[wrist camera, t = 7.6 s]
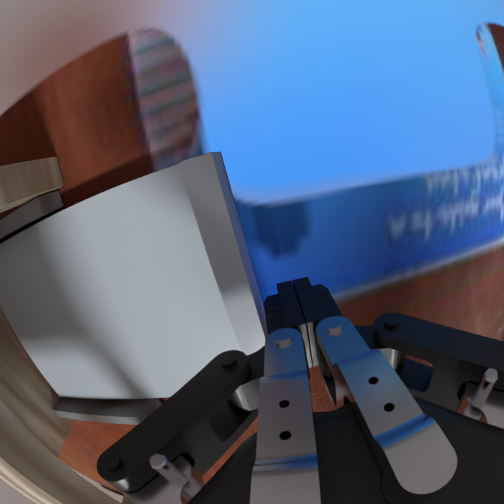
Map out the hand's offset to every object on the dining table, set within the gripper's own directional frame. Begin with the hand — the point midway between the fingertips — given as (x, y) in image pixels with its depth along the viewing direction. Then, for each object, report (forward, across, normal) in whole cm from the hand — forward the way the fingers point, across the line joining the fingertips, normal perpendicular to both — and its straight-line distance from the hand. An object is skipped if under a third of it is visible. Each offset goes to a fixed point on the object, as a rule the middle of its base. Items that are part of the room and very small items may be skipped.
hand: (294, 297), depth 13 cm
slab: (+2, +12, 0) cm, 12 cm away
